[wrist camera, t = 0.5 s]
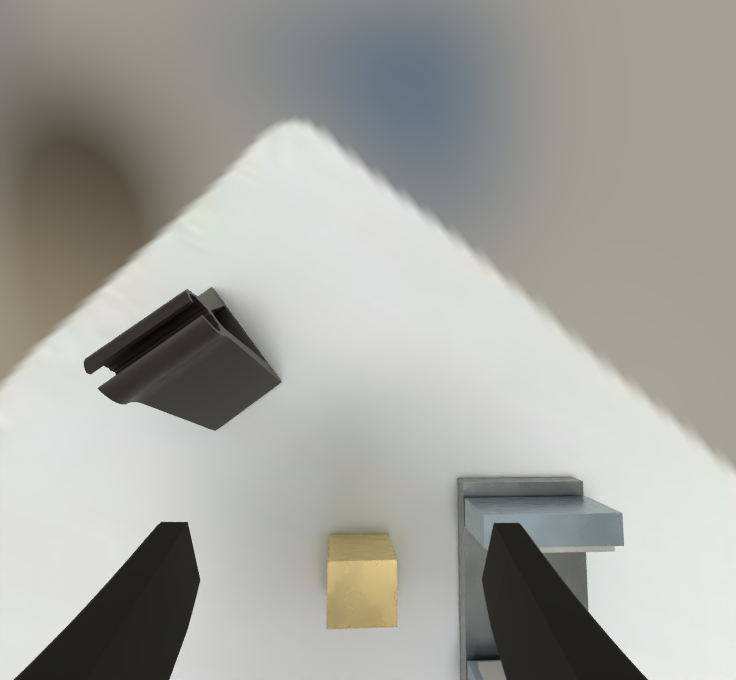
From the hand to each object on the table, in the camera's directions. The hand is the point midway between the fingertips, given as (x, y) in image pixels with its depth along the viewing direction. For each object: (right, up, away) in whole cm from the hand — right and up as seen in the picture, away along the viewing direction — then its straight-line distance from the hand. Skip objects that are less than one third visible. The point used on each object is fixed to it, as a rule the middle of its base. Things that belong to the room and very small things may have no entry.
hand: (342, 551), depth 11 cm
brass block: (0, -11, +22) cm, 25 cm away
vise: (+12, -14, +22) cm, 29 cm away
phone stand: (-11, +4, +23) cm, 26 cm away
